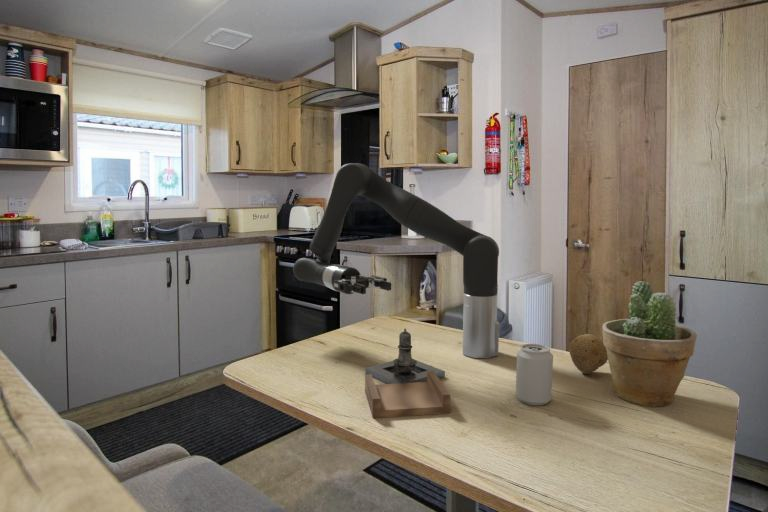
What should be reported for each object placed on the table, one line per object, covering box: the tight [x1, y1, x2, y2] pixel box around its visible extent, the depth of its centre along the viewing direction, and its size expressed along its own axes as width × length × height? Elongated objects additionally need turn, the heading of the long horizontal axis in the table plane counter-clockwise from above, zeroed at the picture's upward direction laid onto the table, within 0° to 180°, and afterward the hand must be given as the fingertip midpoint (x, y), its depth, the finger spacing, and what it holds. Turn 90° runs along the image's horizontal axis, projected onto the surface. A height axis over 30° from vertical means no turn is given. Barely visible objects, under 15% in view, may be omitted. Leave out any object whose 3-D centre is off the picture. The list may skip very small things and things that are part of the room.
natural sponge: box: [568, 333, 608, 375], centre depth 129 cm, size 9×9×10 cm
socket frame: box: [364, 359, 446, 384], centre depth 127 cm, size 14×14×2 cm
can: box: [515, 343, 554, 406], centre depth 112 cm, size 8×8×12 cm
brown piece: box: [364, 371, 451, 419], centre depth 111 cm, size 16×14×4 cm
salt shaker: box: [392, 328, 418, 378], centre depth 127 cm, size 6×6×12 cm
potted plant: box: [601, 280, 698, 408], centre depth 113 cm, size 18×19×25 cm
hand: (377, 288), depth 133 cm, fingers open, 8 cm apart
